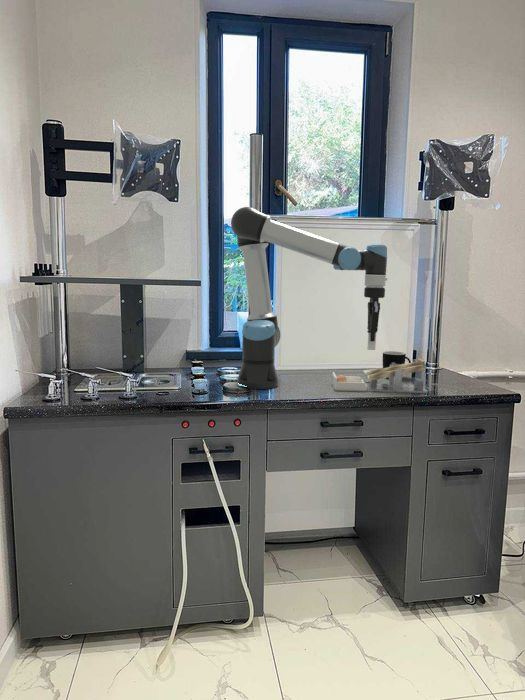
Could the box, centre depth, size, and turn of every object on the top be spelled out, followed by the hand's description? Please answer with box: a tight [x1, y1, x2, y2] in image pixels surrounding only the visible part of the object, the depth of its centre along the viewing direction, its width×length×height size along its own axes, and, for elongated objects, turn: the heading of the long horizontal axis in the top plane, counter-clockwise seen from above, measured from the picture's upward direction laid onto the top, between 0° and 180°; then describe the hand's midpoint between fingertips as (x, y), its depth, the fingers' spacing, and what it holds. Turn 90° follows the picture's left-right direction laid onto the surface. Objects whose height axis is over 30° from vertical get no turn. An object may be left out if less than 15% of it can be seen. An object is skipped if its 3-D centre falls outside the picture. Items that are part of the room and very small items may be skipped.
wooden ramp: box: [362, 357, 427, 381], centre depth 189 cm, size 20×16×4 cm
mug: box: [382, 350, 412, 379], centre depth 206 cm, size 12×9×10 cm
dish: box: [331, 371, 368, 392], centre depth 186 cm, size 11×11×4 cm
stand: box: [365, 365, 429, 394], centre depth 185 cm, size 21×11×8 cm, turn 87°
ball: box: [337, 374, 347, 382], centre depth 186 cm, size 4×4×4 cm
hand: (371, 349), depth 193 cm, fingers closed
